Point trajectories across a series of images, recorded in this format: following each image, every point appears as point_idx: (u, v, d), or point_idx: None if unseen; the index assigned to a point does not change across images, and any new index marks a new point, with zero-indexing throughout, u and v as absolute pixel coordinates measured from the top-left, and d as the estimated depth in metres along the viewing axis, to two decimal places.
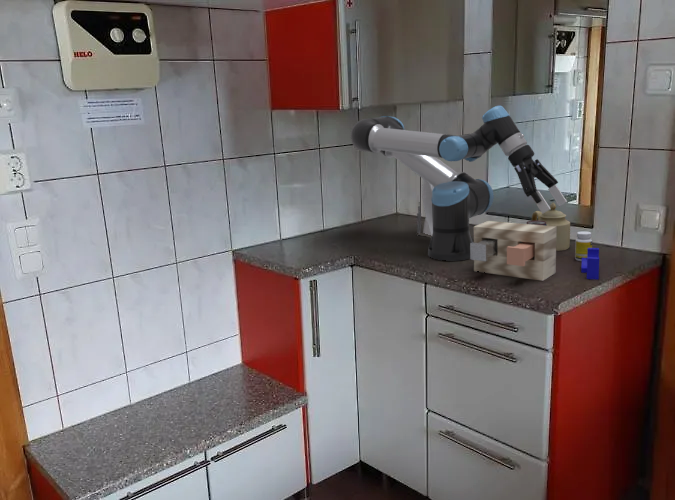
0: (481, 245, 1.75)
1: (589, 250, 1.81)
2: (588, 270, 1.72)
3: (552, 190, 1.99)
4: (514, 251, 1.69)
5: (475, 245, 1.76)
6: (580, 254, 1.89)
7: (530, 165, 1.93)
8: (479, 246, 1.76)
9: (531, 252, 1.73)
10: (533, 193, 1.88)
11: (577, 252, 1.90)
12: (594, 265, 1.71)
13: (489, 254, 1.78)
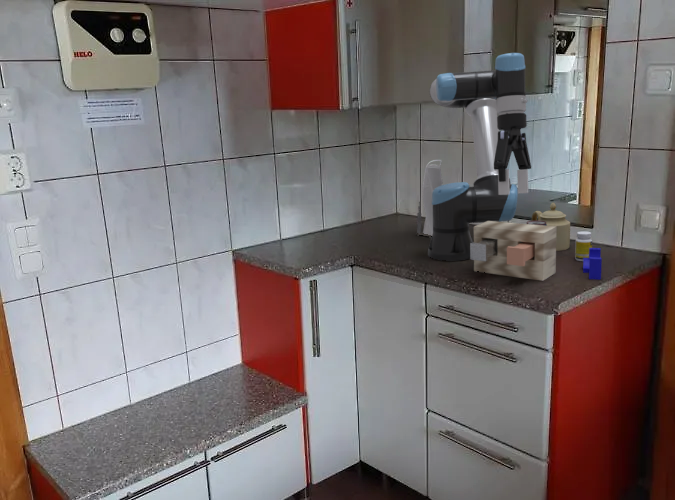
0: (481, 245, 1.75)
1: (591, 250, 1.81)
2: (590, 270, 1.72)
3: (521, 173, 1.74)
4: (514, 251, 1.69)
5: (475, 245, 1.76)
6: (580, 254, 1.89)
7: (515, 137, 1.65)
8: (479, 246, 1.76)
9: (531, 252, 1.73)
10: (502, 169, 1.62)
11: (577, 252, 1.90)
12: (597, 265, 1.71)
13: (489, 254, 1.78)
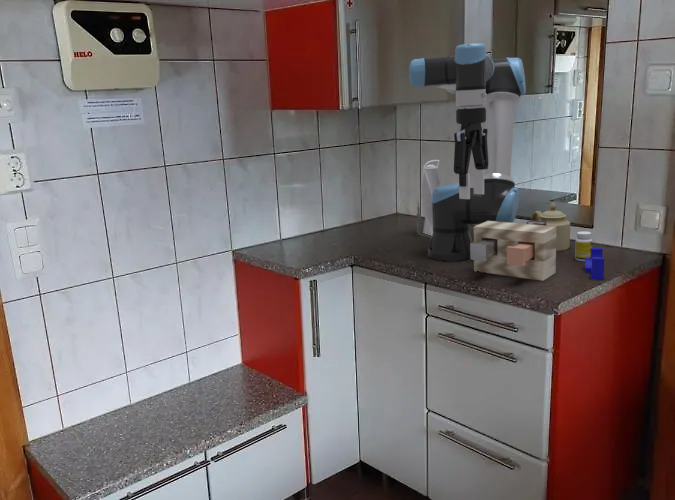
0: (481, 245, 1.75)
1: (592, 250, 1.80)
2: (593, 270, 1.72)
3: (477, 174, 1.67)
4: (514, 251, 1.69)
5: (475, 245, 1.76)
6: (580, 254, 1.89)
7: (473, 134, 1.60)
8: (479, 246, 1.76)
9: (531, 252, 1.73)
10: (462, 174, 1.60)
11: (577, 252, 1.90)
12: (599, 265, 1.71)
13: (489, 254, 1.78)
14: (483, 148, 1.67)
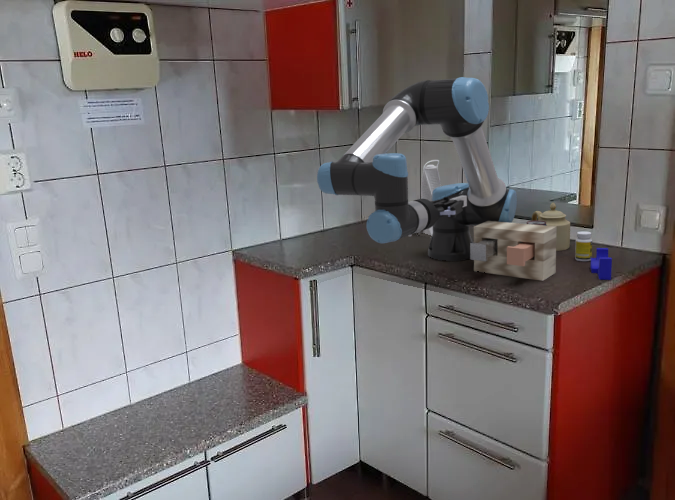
0: (481, 245, 1.75)
1: (598, 250, 1.80)
2: (600, 270, 1.71)
3: None
4: (514, 251, 1.69)
5: (475, 245, 1.76)
6: (580, 254, 1.89)
7: None
8: (479, 246, 1.76)
9: (531, 252, 1.73)
10: None
11: (577, 252, 1.90)
12: (607, 265, 1.70)
13: (489, 254, 1.78)
14: None
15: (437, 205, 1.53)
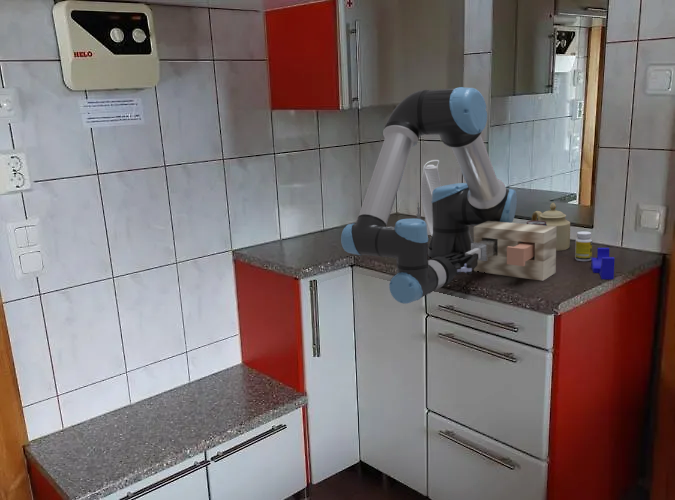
0: (482, 245, 1.75)
1: (599, 250, 1.80)
2: (603, 270, 1.71)
3: None
4: (514, 251, 1.69)
5: (476, 245, 1.77)
6: (580, 254, 1.89)
7: None
8: (480, 246, 1.76)
9: (531, 252, 1.73)
10: None
11: (577, 252, 1.90)
12: (610, 265, 1.70)
13: (490, 254, 1.78)
14: None
15: (454, 262, 1.63)
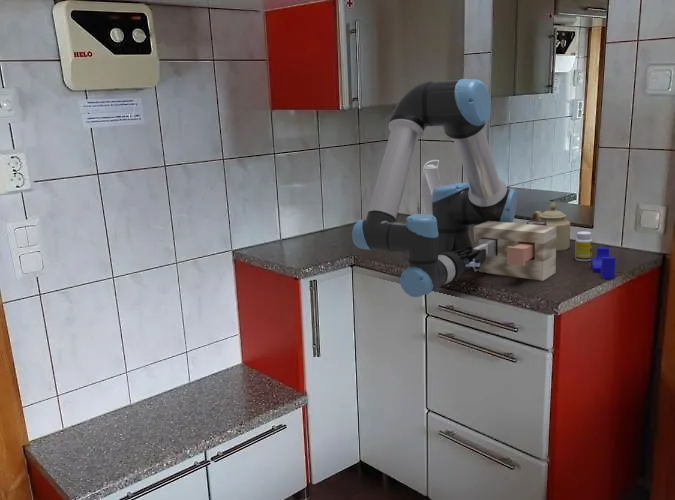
0: (489, 241, 1.79)
1: (599, 250, 1.80)
2: (604, 270, 1.71)
3: None
4: (514, 251, 1.69)
5: (483, 241, 1.80)
6: (580, 254, 1.89)
7: None
8: (487, 242, 1.79)
9: (531, 252, 1.73)
10: None
11: (577, 252, 1.90)
12: (610, 264, 1.70)
13: (497, 250, 1.82)
14: None
15: (463, 257, 1.66)
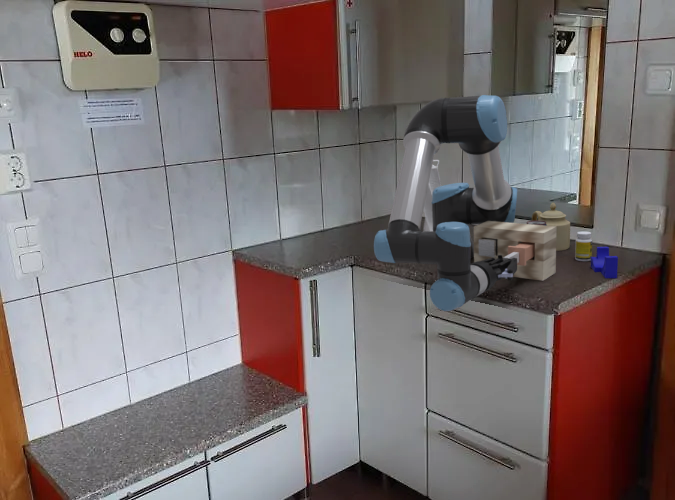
0: (489, 241, 1.79)
1: (599, 249, 1.81)
2: (607, 269, 1.72)
3: None
4: (515, 250, 1.70)
5: (483, 241, 1.80)
6: (580, 254, 1.89)
7: None
8: (487, 242, 1.79)
9: (532, 252, 1.74)
10: None
11: (577, 252, 1.90)
12: (613, 263, 1.71)
13: (497, 250, 1.82)
14: None
15: (494, 267, 1.56)
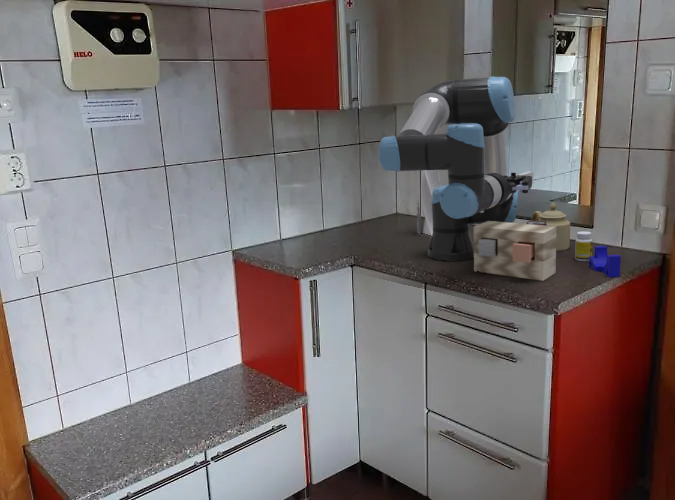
0: (489, 241, 1.79)
1: (598, 248, 1.82)
2: (610, 268, 1.73)
3: None
4: (520, 248, 1.72)
5: (483, 241, 1.80)
6: (580, 254, 1.89)
7: None
8: (487, 242, 1.79)
9: None
10: None
11: (577, 252, 1.90)
12: (616, 262, 1.72)
13: (497, 250, 1.82)
14: None
15: (508, 180, 1.45)
